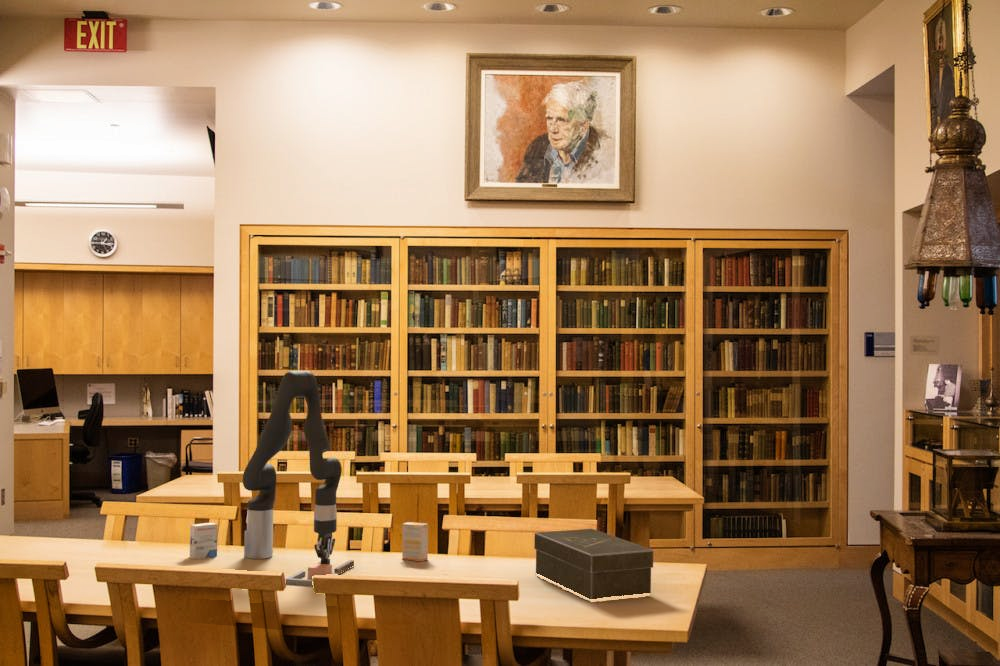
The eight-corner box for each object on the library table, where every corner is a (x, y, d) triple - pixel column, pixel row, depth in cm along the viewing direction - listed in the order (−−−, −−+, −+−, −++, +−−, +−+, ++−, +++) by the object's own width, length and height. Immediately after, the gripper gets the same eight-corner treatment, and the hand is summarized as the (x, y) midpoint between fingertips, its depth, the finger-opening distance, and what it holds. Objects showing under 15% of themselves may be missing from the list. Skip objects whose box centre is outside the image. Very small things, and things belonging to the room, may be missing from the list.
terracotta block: (307, 579, 334) (307, 567, 334) (314, 575, 340) (314, 563, 340) (324, 580, 333) (325, 568, 333) (331, 576, 339) (331, 564, 339)
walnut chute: (309, 572, 343) (309, 567, 343) (325, 564, 356) (326, 558, 357) (338, 575, 340) (338, 569, 341) (353, 566, 354) (353, 560, 354)
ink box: (211, 554, 371) (212, 521, 371) (217, 556, 367) (218, 524, 367) (189, 557, 365) (189, 524, 366) (194, 559, 361) (195, 526, 362)
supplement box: (428, 559, 367) (428, 523, 367) (421, 562, 363) (422, 525, 363) (408, 557, 371) (408, 521, 371) (401, 559, 366) (402, 523, 367)
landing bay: (284, 583, 327) (284, 579, 327) (301, 575, 339) (301, 570, 339) (322, 586, 324) (322, 581, 324) (337, 577, 336) (337, 573, 336)
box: (590, 604, 308) (591, 554, 308) (533, 576, 344) (534, 532, 344) (653, 598, 317) (653, 549, 317) (591, 571, 353) (592, 528, 353)
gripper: (322, 514, 349) (321, 564, 349) (307, 520, 336) (306, 572, 336) (343, 515, 347) (342, 565, 347) (328, 521, 334) (327, 574, 334)
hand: (324, 569), depth 341 cm, fingers closed
